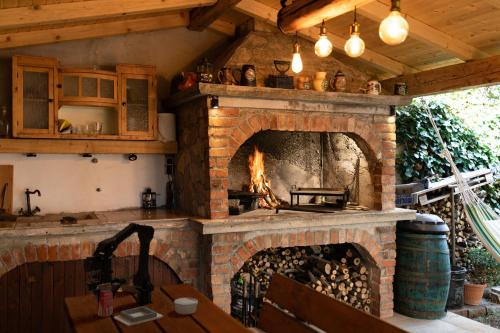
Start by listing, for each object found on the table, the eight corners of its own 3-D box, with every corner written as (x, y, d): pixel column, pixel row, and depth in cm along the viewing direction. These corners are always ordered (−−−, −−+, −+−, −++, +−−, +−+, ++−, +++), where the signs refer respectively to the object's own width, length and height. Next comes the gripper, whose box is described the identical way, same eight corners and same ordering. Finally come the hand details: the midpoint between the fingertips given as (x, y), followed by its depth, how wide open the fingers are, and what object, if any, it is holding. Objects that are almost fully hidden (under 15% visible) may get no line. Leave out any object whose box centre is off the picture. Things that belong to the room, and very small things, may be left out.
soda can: (98, 312, 218) (99, 287, 218) (114, 312, 218) (114, 287, 218) (95, 317, 211) (95, 291, 210) (110, 317, 211) (111, 291, 211)
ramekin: (201, 310, 225) (201, 299, 225) (189, 317, 215) (189, 305, 215) (182, 306, 229) (182, 296, 229) (169, 313, 219) (169, 302, 219)
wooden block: (138, 293, 250) (138, 260, 250) (121, 291, 254) (122, 258, 254) (141, 291, 254) (142, 259, 254) (125, 289, 258) (126, 257, 257)
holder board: (148, 310, 222) (148, 304, 222) (163, 317, 213) (163, 311, 213) (113, 318, 210) (114, 312, 210) (127, 326, 201) (128, 320, 201)
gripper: (115, 262, 227) (115, 293, 227) (79, 268, 214) (78, 301, 214) (127, 266, 218) (126, 298, 219) (89, 272, 206) (88, 307, 206)
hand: (105, 301), depth 214 cm, fingers closed on soda can, 7 cm apart
